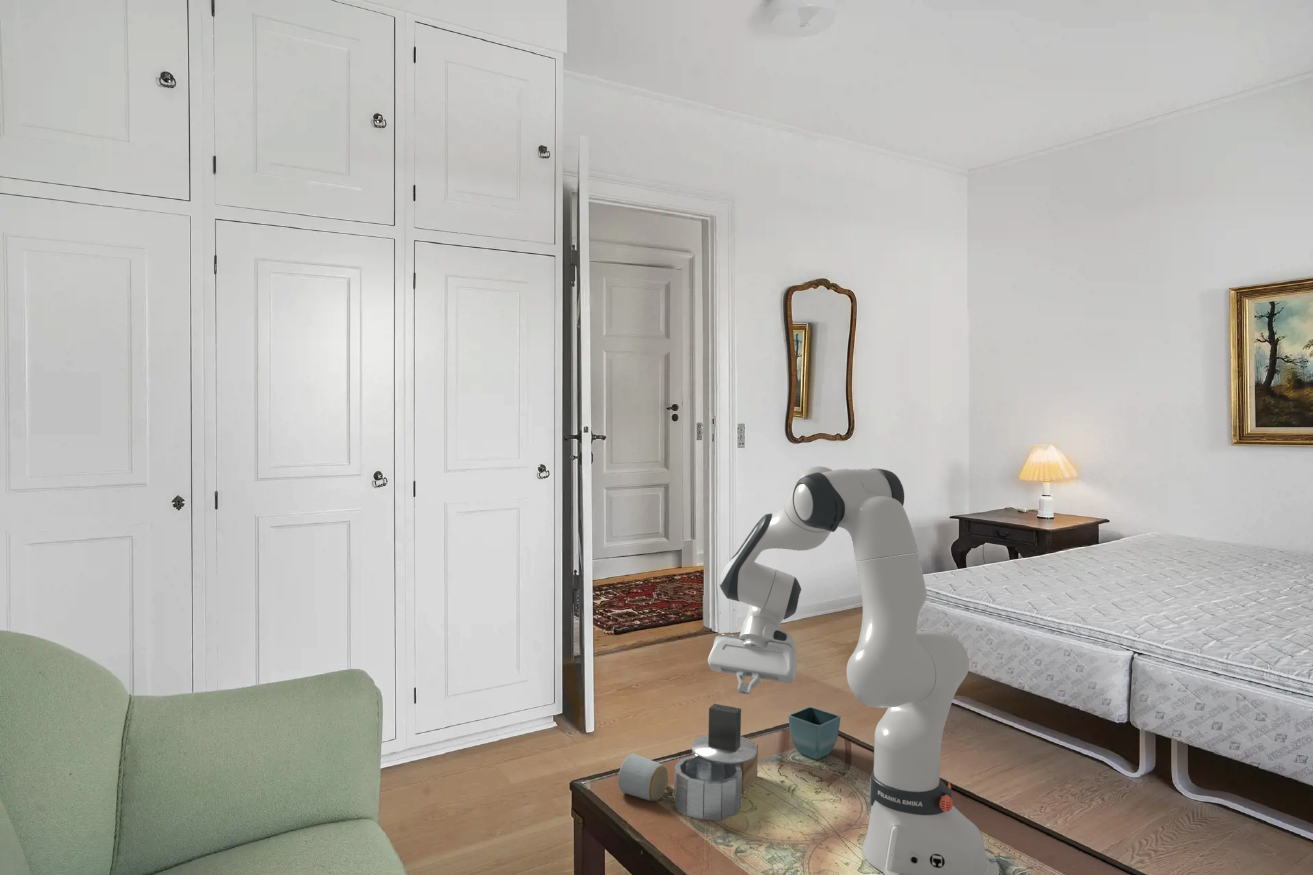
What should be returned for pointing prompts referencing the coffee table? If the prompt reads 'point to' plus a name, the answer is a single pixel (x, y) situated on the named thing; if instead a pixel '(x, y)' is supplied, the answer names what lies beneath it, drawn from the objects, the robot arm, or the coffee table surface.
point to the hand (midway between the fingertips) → (743, 692)
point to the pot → (707, 788)
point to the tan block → (749, 772)
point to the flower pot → (814, 731)
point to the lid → (724, 738)
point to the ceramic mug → (642, 778)
